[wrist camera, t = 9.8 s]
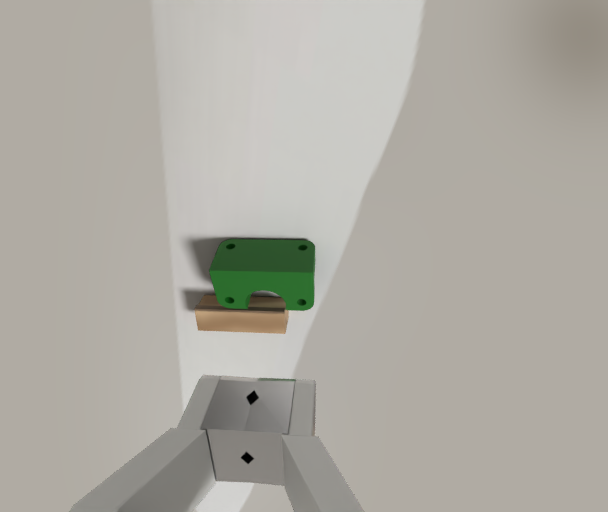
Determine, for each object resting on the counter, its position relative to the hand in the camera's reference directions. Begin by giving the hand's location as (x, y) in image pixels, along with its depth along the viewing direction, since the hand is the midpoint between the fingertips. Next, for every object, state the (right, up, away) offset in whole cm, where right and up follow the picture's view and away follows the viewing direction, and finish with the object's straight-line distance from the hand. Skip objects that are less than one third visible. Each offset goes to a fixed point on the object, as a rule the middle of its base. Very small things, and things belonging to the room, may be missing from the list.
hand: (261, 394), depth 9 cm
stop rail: (-6, -3, +37) cm, 37 cm away
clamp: (-3, +3, +34) cm, 34 cm away
